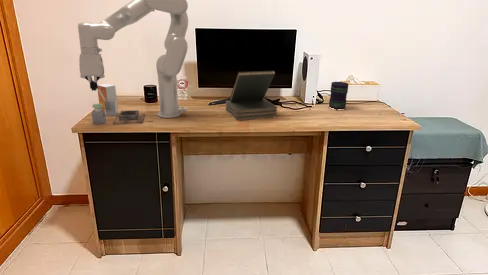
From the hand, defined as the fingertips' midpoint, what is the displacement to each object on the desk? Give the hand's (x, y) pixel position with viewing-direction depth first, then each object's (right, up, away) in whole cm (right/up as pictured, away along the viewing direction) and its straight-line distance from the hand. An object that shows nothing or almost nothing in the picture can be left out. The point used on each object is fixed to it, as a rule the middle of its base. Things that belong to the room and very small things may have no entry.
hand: (94, 90), depth 165 cm
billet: (+2, -11, +19) cm, 21 cm away
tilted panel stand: (+76, -10, +26) cm, 80 cm away
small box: (-5, -6, +31) cm, 32 cm away
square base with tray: (+13, -14, +11) cm, 22 cm away
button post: (0, -15, +6) cm, 16 cm away
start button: (0, -13, +5) cm, 14 cm away
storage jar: (+128, -5, +41) cm, 134 cm away
